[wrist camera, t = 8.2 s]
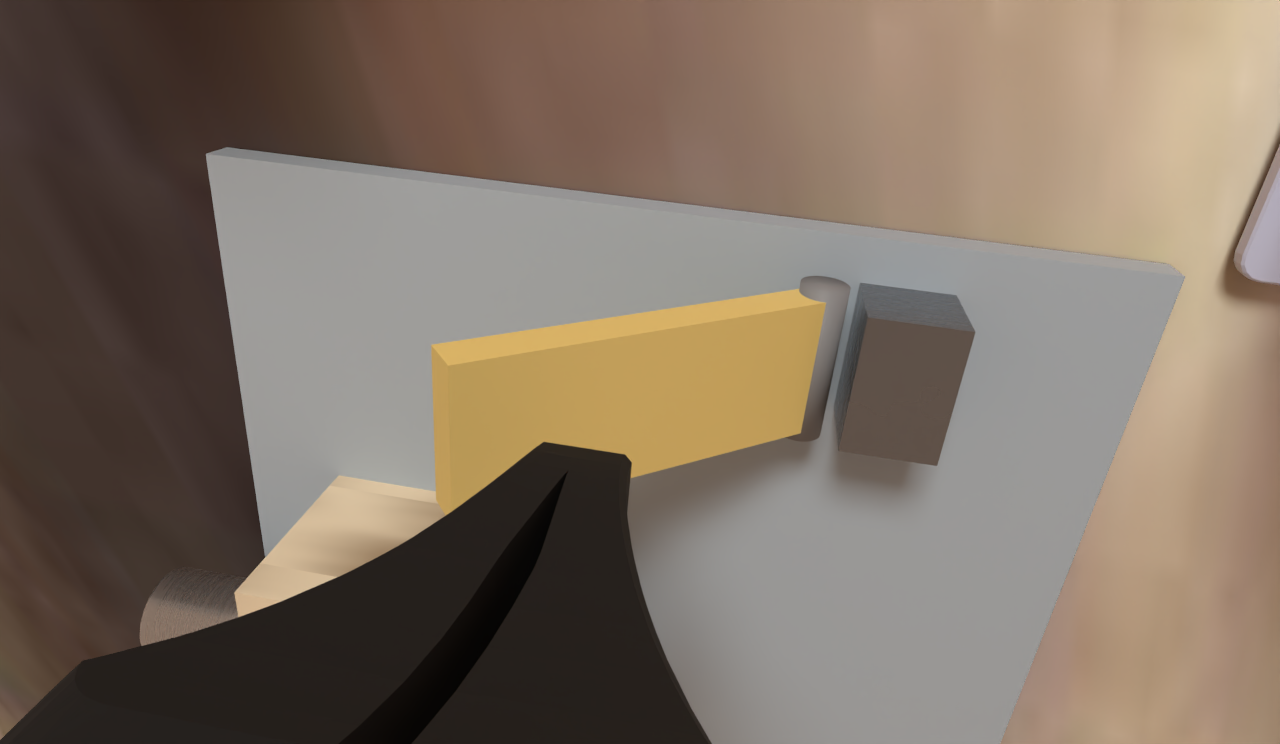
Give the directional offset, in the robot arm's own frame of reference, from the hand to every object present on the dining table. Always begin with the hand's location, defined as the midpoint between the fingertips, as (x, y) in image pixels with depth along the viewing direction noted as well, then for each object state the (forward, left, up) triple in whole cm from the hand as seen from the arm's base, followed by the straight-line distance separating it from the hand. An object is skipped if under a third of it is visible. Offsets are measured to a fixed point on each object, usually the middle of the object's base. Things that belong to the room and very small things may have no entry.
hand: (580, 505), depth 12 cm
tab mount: (-5, 0, -8) cm, 10 cm away
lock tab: (0, 0, -4) cm, 4 cm away
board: (0, +6, -8) cm, 10 cm away
